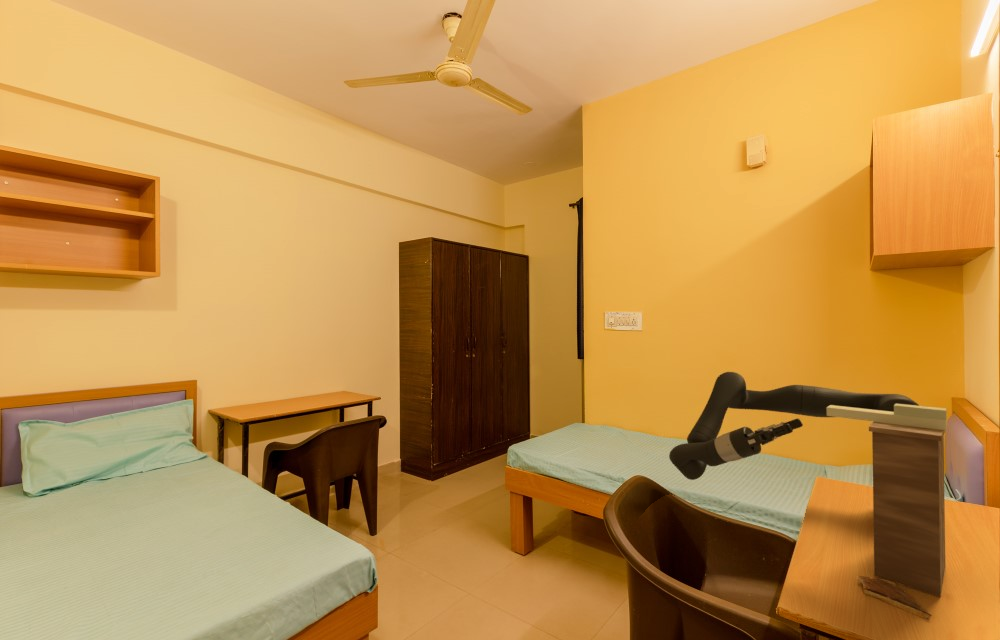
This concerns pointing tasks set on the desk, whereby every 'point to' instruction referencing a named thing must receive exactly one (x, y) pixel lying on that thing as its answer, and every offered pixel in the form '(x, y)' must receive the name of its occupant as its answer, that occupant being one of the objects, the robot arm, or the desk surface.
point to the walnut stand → (909, 505)
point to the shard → (892, 595)
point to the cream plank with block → (896, 415)
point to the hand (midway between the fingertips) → (795, 424)
